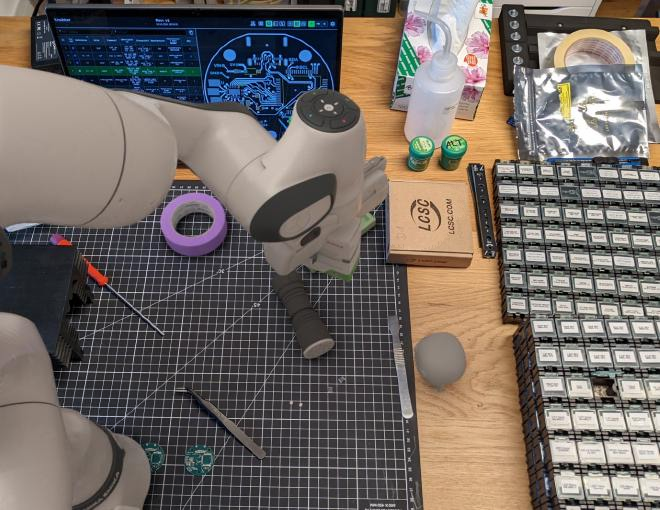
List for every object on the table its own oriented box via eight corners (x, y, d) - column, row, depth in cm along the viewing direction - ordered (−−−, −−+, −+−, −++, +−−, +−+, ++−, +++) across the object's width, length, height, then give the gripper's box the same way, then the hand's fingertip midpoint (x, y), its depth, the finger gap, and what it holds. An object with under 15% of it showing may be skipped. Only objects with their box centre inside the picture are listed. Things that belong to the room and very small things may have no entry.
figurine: (403, 357, 104) (412, 330, 94) (447, 350, 105) (461, 322, 94) (414, 404, 100) (425, 381, 90) (459, 397, 101) (475, 373, 90)
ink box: (361, 258, 96) (365, 217, 86) (348, 284, 94) (350, 245, 84) (310, 238, 98) (308, 196, 88) (297, 264, 96) (293, 223, 85)
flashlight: (270, 287, 110) (267, 273, 106) (297, 276, 111) (296, 261, 107) (304, 362, 103) (304, 350, 99) (334, 349, 105) (334, 337, 100)
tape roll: (206, 193, 120) (202, 181, 117) (239, 234, 116) (237, 223, 112) (153, 224, 116) (148, 213, 113) (185, 268, 112) (181, 257, 109)
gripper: (370, 136, 84) (365, 194, 96) (251, 221, 78) (262, 271, 90) (403, 164, 82) (393, 220, 94) (283, 253, 75) (290, 301, 87)
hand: (328, 246), depth 92 cm, fingers closed on ink box, 6 cm apart
